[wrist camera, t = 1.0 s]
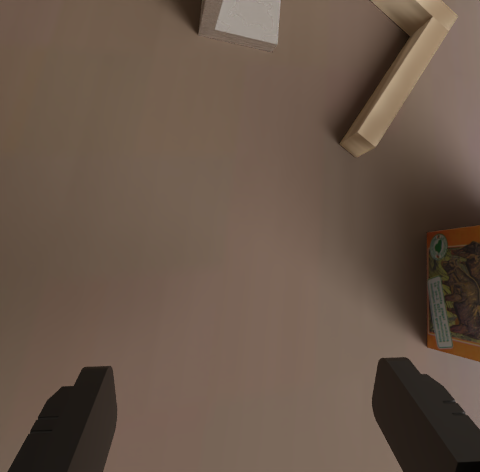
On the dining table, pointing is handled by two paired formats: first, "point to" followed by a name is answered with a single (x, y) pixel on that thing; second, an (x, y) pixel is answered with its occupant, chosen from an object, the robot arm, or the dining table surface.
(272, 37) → the bracket
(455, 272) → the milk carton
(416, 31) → the wooden l-shaped corner
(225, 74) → the dining table surface
